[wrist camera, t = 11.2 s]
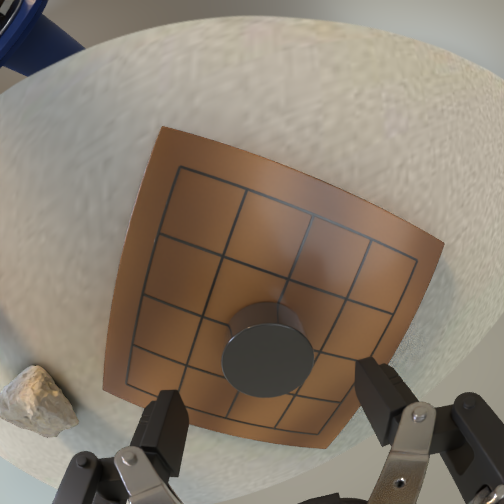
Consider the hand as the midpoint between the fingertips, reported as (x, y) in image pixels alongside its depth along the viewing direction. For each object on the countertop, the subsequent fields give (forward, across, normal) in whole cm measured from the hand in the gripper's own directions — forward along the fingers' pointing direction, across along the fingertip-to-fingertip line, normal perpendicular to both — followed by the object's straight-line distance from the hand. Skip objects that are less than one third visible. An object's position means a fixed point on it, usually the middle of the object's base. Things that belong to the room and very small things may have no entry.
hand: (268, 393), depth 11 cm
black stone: (+6, 0, 0) cm, 6 cm away
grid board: (+7, 0, 0) cm, 7 cm away
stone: (+8, +24, +7) cm, 27 cm away
